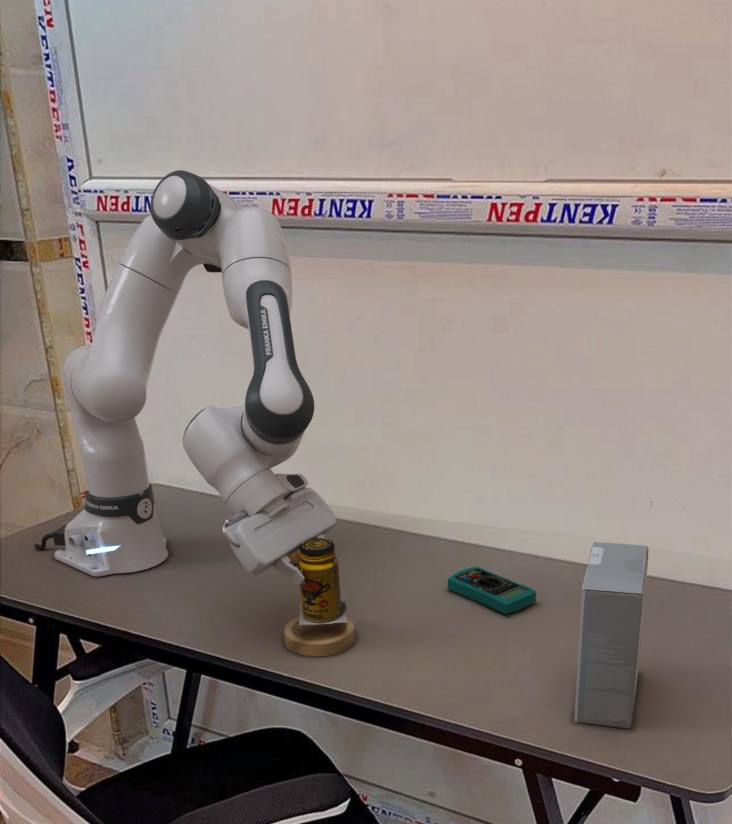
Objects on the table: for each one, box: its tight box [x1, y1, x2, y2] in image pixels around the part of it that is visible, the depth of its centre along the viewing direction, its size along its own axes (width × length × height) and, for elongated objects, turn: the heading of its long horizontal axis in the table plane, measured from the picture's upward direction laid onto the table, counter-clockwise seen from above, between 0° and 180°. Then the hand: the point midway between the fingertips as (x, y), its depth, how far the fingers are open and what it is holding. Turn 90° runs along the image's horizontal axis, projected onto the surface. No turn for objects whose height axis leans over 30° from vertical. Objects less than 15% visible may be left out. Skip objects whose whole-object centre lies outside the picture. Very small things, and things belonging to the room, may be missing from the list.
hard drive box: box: [573, 541, 650, 729], centre depth 130 cm, size 16×8×20 cm, turn 163°
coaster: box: [283, 615, 356, 658], centre depth 152 cm, size 11×11×2 cm
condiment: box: [298, 537, 348, 625], centre depth 149 cm, size 7×8×12 cm
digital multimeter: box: [447, 566, 537, 616], centre depth 164 cm, size 7×15×3 cm, turn 39°
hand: (317, 572), depth 147 cm, fingers closed on condiment, 6 cm apart
